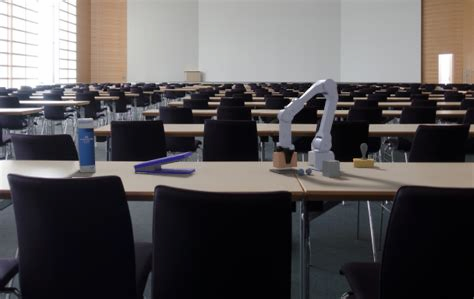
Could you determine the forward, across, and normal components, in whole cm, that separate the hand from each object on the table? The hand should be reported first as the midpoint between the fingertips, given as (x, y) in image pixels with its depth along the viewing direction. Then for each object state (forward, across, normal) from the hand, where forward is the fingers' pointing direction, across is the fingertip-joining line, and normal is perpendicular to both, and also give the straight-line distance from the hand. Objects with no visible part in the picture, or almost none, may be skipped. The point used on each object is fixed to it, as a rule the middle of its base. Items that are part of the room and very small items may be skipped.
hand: (285, 162), depth 255 cm
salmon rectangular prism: (+2, 0, 0) cm, 2 cm away
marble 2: (+4, +12, +6) cm, 14 cm away
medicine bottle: (+4, -12, +25) cm, 28 cm away
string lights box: (+4, -45, -87) cm, 98 cm away
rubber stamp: (+5, +3, +43) cm, 43 cm away
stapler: (+5, -26, -53) cm, 59 cm away
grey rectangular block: (+4, +20, +13) cm, 24 cm away
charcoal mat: (+4, 0, 0) cm, 4 cm away
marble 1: (+4, +12, +2) cm, 13 cm away
